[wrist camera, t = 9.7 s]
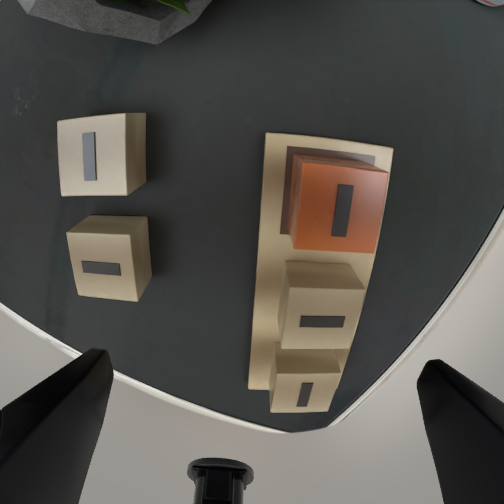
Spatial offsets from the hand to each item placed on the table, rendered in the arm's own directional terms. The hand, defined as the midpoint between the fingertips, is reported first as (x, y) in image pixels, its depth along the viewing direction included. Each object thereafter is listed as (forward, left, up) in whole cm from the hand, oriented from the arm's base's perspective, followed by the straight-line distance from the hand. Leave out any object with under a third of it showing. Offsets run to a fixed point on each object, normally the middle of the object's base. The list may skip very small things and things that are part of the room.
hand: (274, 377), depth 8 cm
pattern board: (-4, -3, -11) cm, 12 cm away
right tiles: (-7, -3, -11) cm, 13 cm away
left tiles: (+1, +9, -11) cm, 14 cm away
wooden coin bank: (+2, -3, -10) cm, 11 cm away
